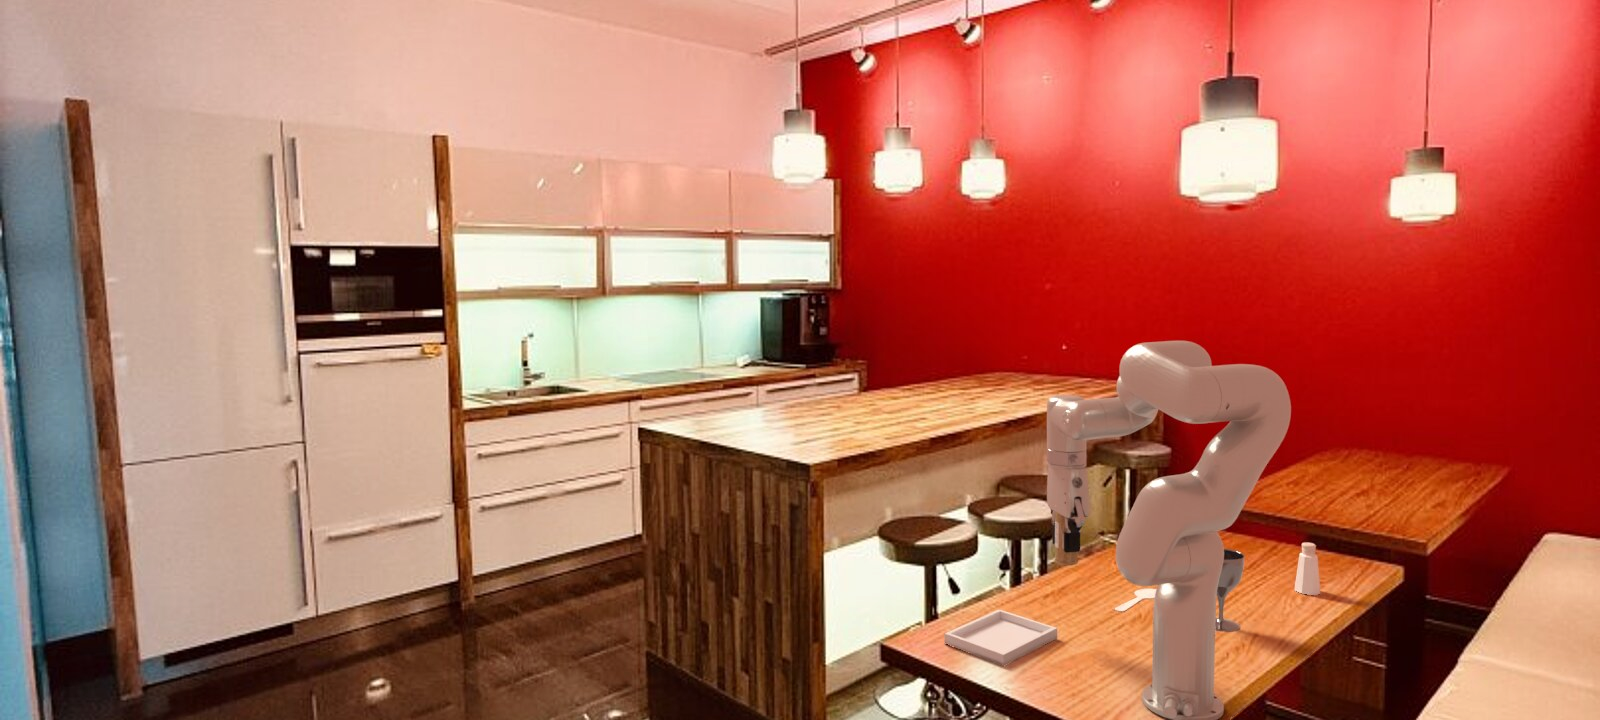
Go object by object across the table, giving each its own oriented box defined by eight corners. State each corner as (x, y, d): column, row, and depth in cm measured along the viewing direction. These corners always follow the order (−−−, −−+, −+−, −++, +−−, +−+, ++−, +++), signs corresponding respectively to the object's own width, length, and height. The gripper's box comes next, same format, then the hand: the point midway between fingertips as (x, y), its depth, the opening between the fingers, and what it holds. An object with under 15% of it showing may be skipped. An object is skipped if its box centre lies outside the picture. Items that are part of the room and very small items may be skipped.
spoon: (1105, 609, 193) (1105, 606, 193) (1144, 588, 205) (1144, 585, 205) (1129, 615, 189) (1129, 613, 189) (1167, 593, 202) (1167, 591, 202)
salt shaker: (1289, 591, 201) (1290, 543, 199) (1300, 585, 204) (1301, 538, 203) (1314, 597, 196) (1316, 549, 195) (1325, 591, 200) (1327, 544, 198)
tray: (1003, 666, 166) (1003, 654, 166) (944, 644, 176) (944, 633, 176) (1057, 638, 178) (1057, 627, 177) (999, 619, 188) (999, 609, 188)
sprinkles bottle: (1073, 567, 175) (1073, 500, 174) (1050, 563, 177) (1051, 497, 176) (1081, 561, 178) (1081, 495, 177) (1058, 557, 181) (1059, 493, 180)
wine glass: (1205, 614, 188) (1207, 545, 187) (1246, 623, 183) (1248, 552, 182) (1194, 626, 182) (1196, 555, 181) (1236, 635, 177) (1238, 562, 176)
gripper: (1104, 465, 168) (1104, 559, 170) (1065, 448, 185) (1065, 534, 186) (1067, 467, 167) (1067, 562, 169) (1031, 450, 184) (1031, 537, 185)
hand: (1066, 546), depth 178 cm, fingers closed on sprinkles bottle, 4 cm apart
